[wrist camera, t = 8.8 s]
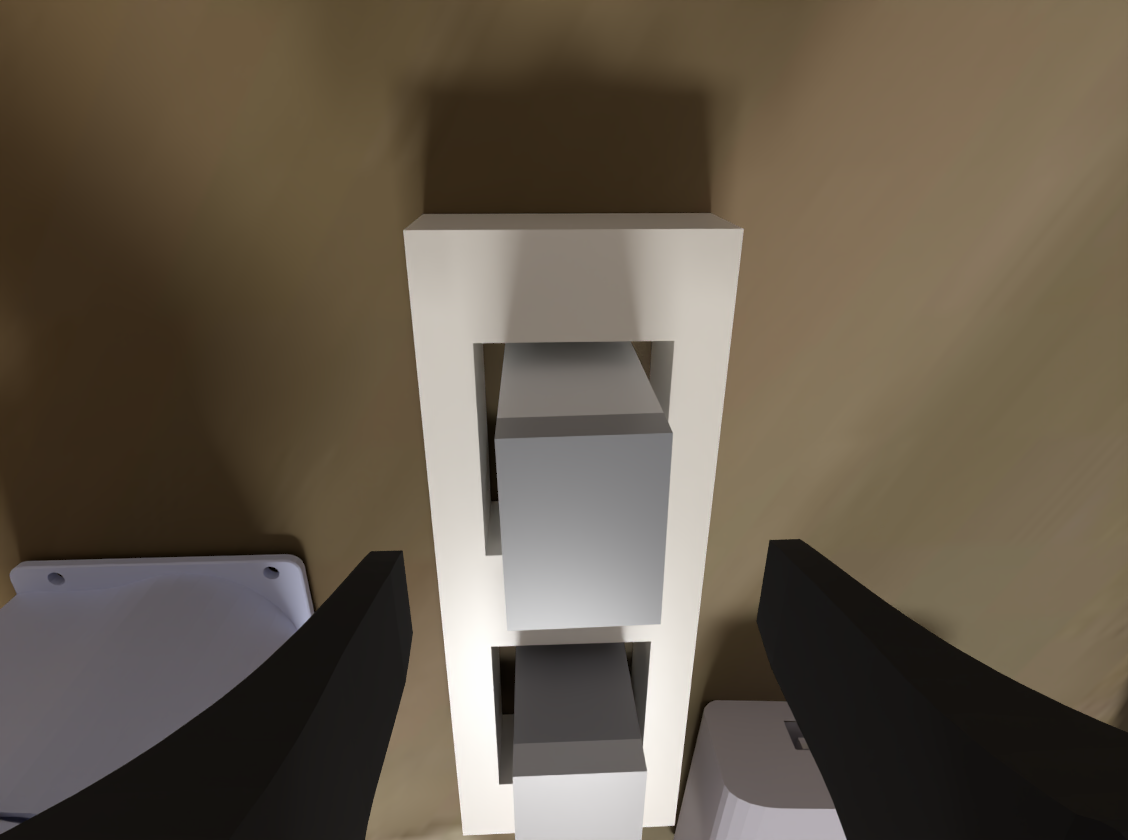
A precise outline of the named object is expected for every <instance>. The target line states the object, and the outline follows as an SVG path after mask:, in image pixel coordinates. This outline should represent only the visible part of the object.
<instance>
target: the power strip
mask: <svg viewBox="0 0 1128 840" xmlns="http://www.w3.org/2000/svg"><path fill="white" fill-rule="evenodd" d="M743 231H744V229H743V228H741V227H739V226H737V225H735V224H733V223H731V222H729V221H727V220H725V219H723V218H721V217H718V216H716V215H714V214H712V213H581V214H422V215H421V216H420V217H419V218H418V219H416V220H415V221H414V222H413V223H411V224H410V225H409V226H408V227H407V228H405V229H404V230H403V233H404V243H405V253H406V263H407V273H408V283H409V293H410V303H411V313H412V323H413V333H414V344H415V354H416V364H417V374H418V384H419V394H420V404H421V414H422V424H423V434H424V444H425V454H426V465H427V475H428V485H429V495H430V505H431V515H432V525H433V535H434V545H435V555H436V565H437V575H438V585H439V596H440V606H441V616H442V626H443V636H444V646H445V656H446V666H447V676H448V686H449V696H450V706H451V717H452V727H453V737H454V747H455V757H456V767H457V777H458V787H459V797H460V807H461V817H462V827H463V835H482V834H503V833H515V820H514V797H513V742H514V714H507V715H502V697H501V678H500V659H499V646H525V645H555V644H585V643H615V642H633V653H632V669H631V685H632V690H633V696H634V701H635V707H636V712H637V718H638V723H639V729H640V734H641V740H642V745H643V751H644V756H645V762H646V767H647V780H646V791H645V803H644V815H643V826H642V827H655V826H675V817H676V809H677V800H678V791H679V783H680V774H681V766H682V757H683V748H684V740H685V731H686V723H687V714H688V705H689V697H690V688H691V679H692V671H693V662H694V654H695V645H696V636H697V628H698V619H699V610H700V602H701V593H702V585H703V576H704V567H705V559H706V550H707V541H708V533H709V524H710V516H711V507H712V498H713V490H714V481H715V472H716V464H717V455H718V447H719V438H720V429H721V421H722V412H723V403H724V395H725V386H726V378H727V369H728V360H729V352H730V343H731V334H732V326H733V317H734V309H735V300H736V291H737V283H738V274H739V265H740V257H741V248H742V240H743ZM615 341H652V348H651V364H650V380H649V382H650V384H651V386H652V389H653V391H654V393H655V395H656V397H657V399H658V402H659V404H660V406H661V408H662V410H663V412H664V414H665V417H666V419H667V421H668V423H669V425H670V427H671V430H672V432H673V442H672V457H671V473H670V488H669V504H668V520H667V535H666V551H665V566H664V582H663V597H662V613H661V624H654V625H632V626H610V627H587V628H565V629H543V630H521V631H507V619H506V604H505V589H504V574H503V559H502V544H501V529H500V514H499V501H491V487H490V468H489V449H488V430H487V411H486V392H485V373H484V354H483V343H533V342H615Z"/></svg>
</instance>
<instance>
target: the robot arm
mask: <svg viewBox="0 0 1128 840" xmlns="http://www.w3.org/2000/svg"><path fill="white" fill-rule="evenodd" d="M268 567H274V568H276V569H277V570H278V571H279V572H274V571H271V570H270V569H269V568H268ZM57 573H59V574H60V575H62V576H63V577H61V576H59V575H58V574H57ZM10 580H11V582H12V584H13V586H14V589H15V591H16V593H17V595H15V596H14V597H13V598H12V599H11V600H10V601H9V602H8V603H7V604H6V605H4V606H3V607H2V608H1V609H0V840H365V836H366V830H367V825H368V820H369V816H370V812H371V807H372V803H373V799H374V795H375V791H376V788H377V784H378V780H379V777H380V773H381V770H382V766H383V762H384V759H385V755H386V752H387V748H388V744H389V741H390V737H391V734H392V730H393V726H394V723H395V719H396V715H397V712H398V708H399V704H400V701H401V697H402V693H403V689H404V686H405V682H406V675H407V669H408V663H409V656H410V649H411V642H412V635H413V631H412V623H411V615H410V607H409V599H408V591H407V583H406V574H405V566H404V558H403V551H371V552H370V553H369V554H368V555H367V556H366V557H365V558H364V559H363V560H362V561H361V562H360V563H359V564H358V565H357V567H356V568H355V569H354V570H353V571H352V572H351V573H350V574H349V576H348V577H347V578H346V579H345V580H344V581H343V582H342V583H341V585H340V586H339V587H338V588H337V589H336V590H335V591H334V592H333V593H332V595H331V596H330V597H329V598H328V599H327V600H326V601H325V602H324V603H323V604H322V605H321V606H320V607H319V608H318V610H317V611H316V612H315V613H314V609H313V604H312V599H311V594H310V589H309V585H308V580H307V575H306V570H305V565H304V563H303V561H302V560H301V559H300V558H299V557H297V556H294V555H290V554H275V555H237V556H199V557H161V558H123V559H85V560H47V561H25V562H21V563H20V564H18V565H17V566H16V567H15V568H14V569H12V570H11V572H10ZM757 624H758V628H759V631H760V634H761V638H762V641H763V644H764V647H765V650H766V653H767V656H768V659H769V662H770V665H771V668H772V670H773V673H774V675H775V677H776V679H777V682H778V684H779V686H780V688H781V690H782V692H783V694H784V697H785V699H786V701H787V703H788V705H789V707H790V709H791V712H792V714H793V716H794V718H795V720H796V722H797V724H798V726H799V728H800V731H801V733H802V735H803V737H804V739H805V741H806V743H807V745H808V747H809V750H810V752H811V754H812V756H813V758H814V760H815V762H816V764H817V766H818V769H819V771H820V773H821V775H822V777H823V780H824V782H825V784H826V787H827V789H828V791H829V794H830V796H831V798H832V801H833V803H834V806H835V809H836V812H837V815H838V817H839V820H840V823H841V826H842V828H843V831H844V834H845V837H846V839H847V840H1128V733H1127V732H1125V731H1123V730H1120V729H1118V728H1116V727H1113V726H1111V725H1108V724H1106V723H1104V722H1101V721H1099V720H1097V719H1094V718H1092V717H1090V716H1088V715H1085V714H1083V713H1081V712H1079V711H1076V710H1074V709H1072V708H1070V707H1068V706H1065V705H1063V704H1061V703H1059V702H1057V701H1055V700H1053V699H1051V698H1049V697H1047V696H1045V695H1043V694H1041V693H1039V692H1037V691H1035V690H1032V689H1030V688H1028V687H1026V686H1024V685H1022V684H1020V683H1018V682H1016V681H1015V680H1013V679H1011V678H1009V677H1007V676H1005V675H1003V674H1001V673H999V672H997V671H996V670H994V669H992V668H990V667H989V666H987V665H985V664H983V663H982V662H980V661H978V660H976V659H974V658H973V657H971V656H969V655H967V654H966V653H964V652H962V651H960V650H959V649H957V648H955V647H954V646H952V645H950V644H949V643H947V642H945V641H944V640H942V639H941V638H939V637H937V636H936V635H934V634H933V633H931V632H930V631H928V630H927V629H925V628H924V627H922V626H921V625H919V624H918V623H916V622H914V621H913V620H911V619H910V618H908V617H907V616H905V615H904V614H903V613H901V612H900V611H898V610H897V609H895V608H894V607H892V606H891V605H890V604H888V603H887V602H885V601H884V600H883V599H881V598H880V597H878V596H877V595H876V594H874V593H873V592H871V591H870V590H869V589H867V588H866V587H865V586H863V585H862V584H861V583H859V582H858V581H856V580H855V579H854V578H852V577H851V576H850V575H848V574H847V573H846V572H844V571H843V570H842V569H840V568H839V567H838V566H836V565H835V564H834V563H832V562H831V561H830V560H828V559H827V558H826V557H824V556H823V555H822V554H820V553H819V552H818V551H816V550H815V549H814V548H812V547H811V546H809V545H808V544H806V543H805V542H803V541H802V540H800V539H790V540H770V541H769V547H768V553H767V560H766V566H765V572H764V578H763V584H762V590H761V596H760V602H759V608H758V615H757Z"/></svg>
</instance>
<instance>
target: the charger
mask: <svg viewBox="0 0 1128 840" xmlns="http://www.w3.org/2000/svg"><path fill="white" fill-rule="evenodd" d="M784 721H796V720H795V718H794V716H793V714H792V712H791V709H790V707H789V705H788V703H787V701H734V700H714V701H712V702H710V703H708V704H707V706H706V707H705V708H704V712H703V716H702V720H701V725H700V729H699V733H698V737H697V742H696V746H695V750H694V754H693V759H692V763H691V767H690V771H689V776H688V780H687V784H686V788H685V793H684V797H683V801H682V805H681V810H680V814H679V818H678V822H677V827H676V831H675V835H674V839H673V840H847V839H846V837H845V834H844V831H843V828H842V826H841V823H840V820H839V817H838V815H837V812H836V809H835V806H834V803H833V801H832V798H831V796H830V794H829V791H828V789H827V787H826V784H825V782H824V780H823V777H822V775H821V773H820V771H819V769H818V766H817V764H816V762H815V760H814V758H813V756H812V754H811V752H810V750H809V747H808V745H807V743H806V741H805V739H804V737H803V735H802V733H801V731H800V728H799V726H798V724H797V722H784Z"/></svg>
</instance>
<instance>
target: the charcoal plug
mask: <svg viewBox="0 0 1128 840" xmlns="http://www.w3.org/2000/svg"><path fill="white" fill-rule="evenodd" d="M646 780H647V767H646V762H645V756H644V751H643V745H642V740H641V734H640V729H639V723H638V718H637V712H636V707H635V701H634V696H633V690H632V685H631V679H630V674H629V668H628V663H627V657H626V652H625V646H624V642H615V643H585V644H555V645H525V646H516V667H515V705H514V742H513V797H514V820H515V840H641V838H642V826H643V815H644V803H645V791H646Z"/></svg>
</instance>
